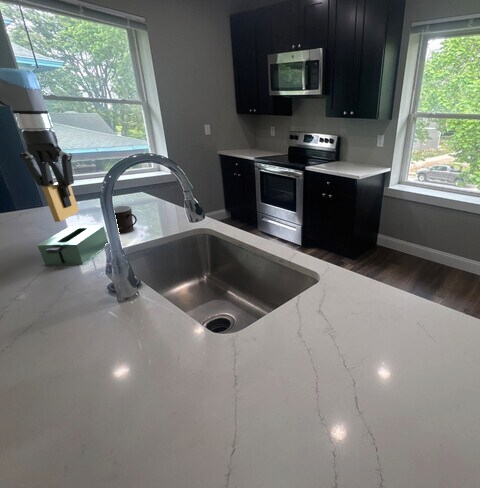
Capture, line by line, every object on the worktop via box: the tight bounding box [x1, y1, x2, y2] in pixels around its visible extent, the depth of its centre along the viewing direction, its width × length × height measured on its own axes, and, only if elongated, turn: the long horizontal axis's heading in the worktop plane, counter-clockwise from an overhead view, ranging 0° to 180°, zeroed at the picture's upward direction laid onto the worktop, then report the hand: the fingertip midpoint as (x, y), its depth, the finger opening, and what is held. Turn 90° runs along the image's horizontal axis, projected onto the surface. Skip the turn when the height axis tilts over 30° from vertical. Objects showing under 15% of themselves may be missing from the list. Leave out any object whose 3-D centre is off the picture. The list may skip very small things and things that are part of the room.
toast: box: [41, 182, 80, 223], centre depth 96 cm, size 2×10×11 cm, turn 8°
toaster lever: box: [46, 247, 63, 254], centre depth 92 cm, size 3×2×1 cm
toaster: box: [37, 225, 109, 266], centre depth 102 cm, size 11×16×8 cm
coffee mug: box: [113, 205, 138, 235], centre depth 120 cm, size 12×9×10 cm
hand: (64, 206), depth 97 cm, fingers closed on toast, 2 cm apart
